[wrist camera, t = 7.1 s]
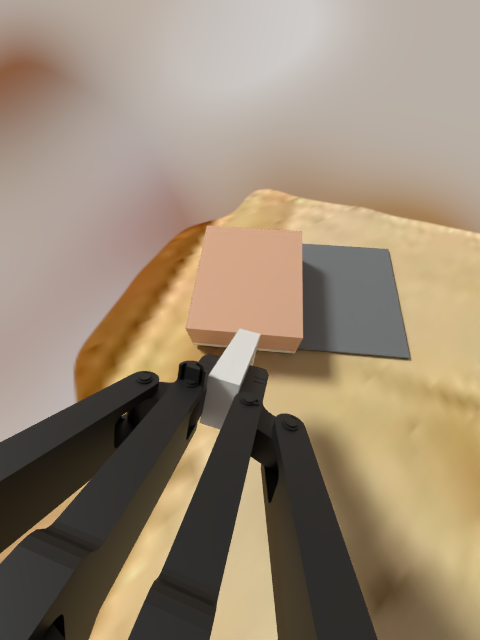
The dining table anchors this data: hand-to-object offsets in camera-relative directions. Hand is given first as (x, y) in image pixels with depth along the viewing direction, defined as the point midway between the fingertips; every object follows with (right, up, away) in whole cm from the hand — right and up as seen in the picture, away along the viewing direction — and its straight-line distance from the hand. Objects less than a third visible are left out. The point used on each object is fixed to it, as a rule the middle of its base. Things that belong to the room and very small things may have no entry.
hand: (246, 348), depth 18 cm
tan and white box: (0, 0, +6) cm, 6 cm away
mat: (+7, +5, +11) cm, 13 cm away
